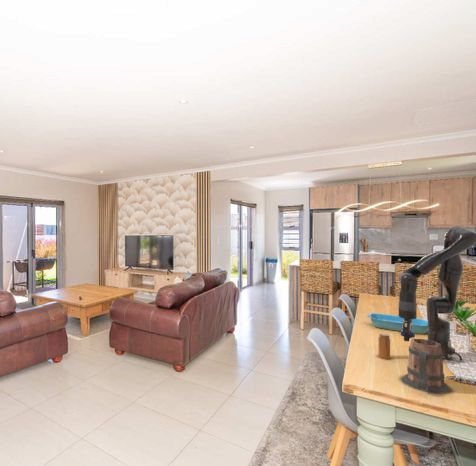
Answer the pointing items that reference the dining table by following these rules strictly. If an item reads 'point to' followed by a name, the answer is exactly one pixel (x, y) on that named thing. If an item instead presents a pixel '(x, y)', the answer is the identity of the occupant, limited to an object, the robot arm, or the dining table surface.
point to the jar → (384, 346)
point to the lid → (409, 335)
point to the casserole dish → (397, 323)
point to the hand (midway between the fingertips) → (407, 339)
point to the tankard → (426, 367)
